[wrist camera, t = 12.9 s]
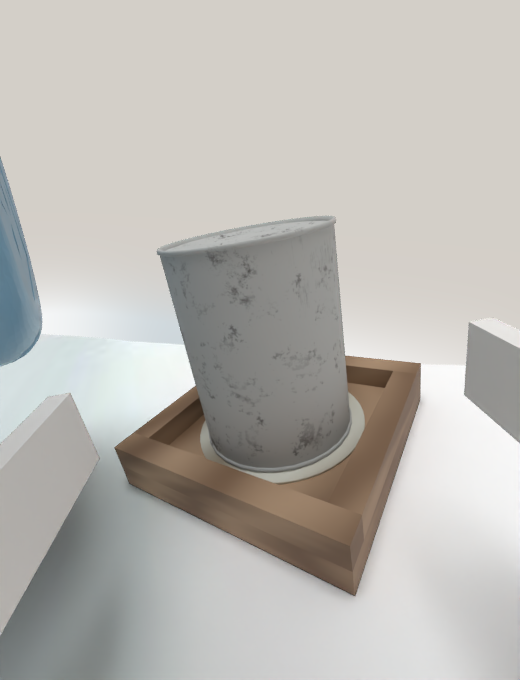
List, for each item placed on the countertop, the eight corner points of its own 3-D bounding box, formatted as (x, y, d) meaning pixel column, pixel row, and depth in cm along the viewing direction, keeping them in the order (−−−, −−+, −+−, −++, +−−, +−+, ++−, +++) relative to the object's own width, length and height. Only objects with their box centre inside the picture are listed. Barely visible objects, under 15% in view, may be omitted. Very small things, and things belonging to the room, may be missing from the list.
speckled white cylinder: (192, 477, 19) (122, 261, 15) (224, 389, 28) (187, 236, 23) (365, 467, 18) (348, 223, 13) (341, 377, 27) (327, 212, 22)
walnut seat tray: (129, 483, 22) (114, 447, 21) (253, 373, 33) (248, 345, 32) (355, 595, 14) (349, 546, 13) (420, 399, 25) (420, 363, 24)
